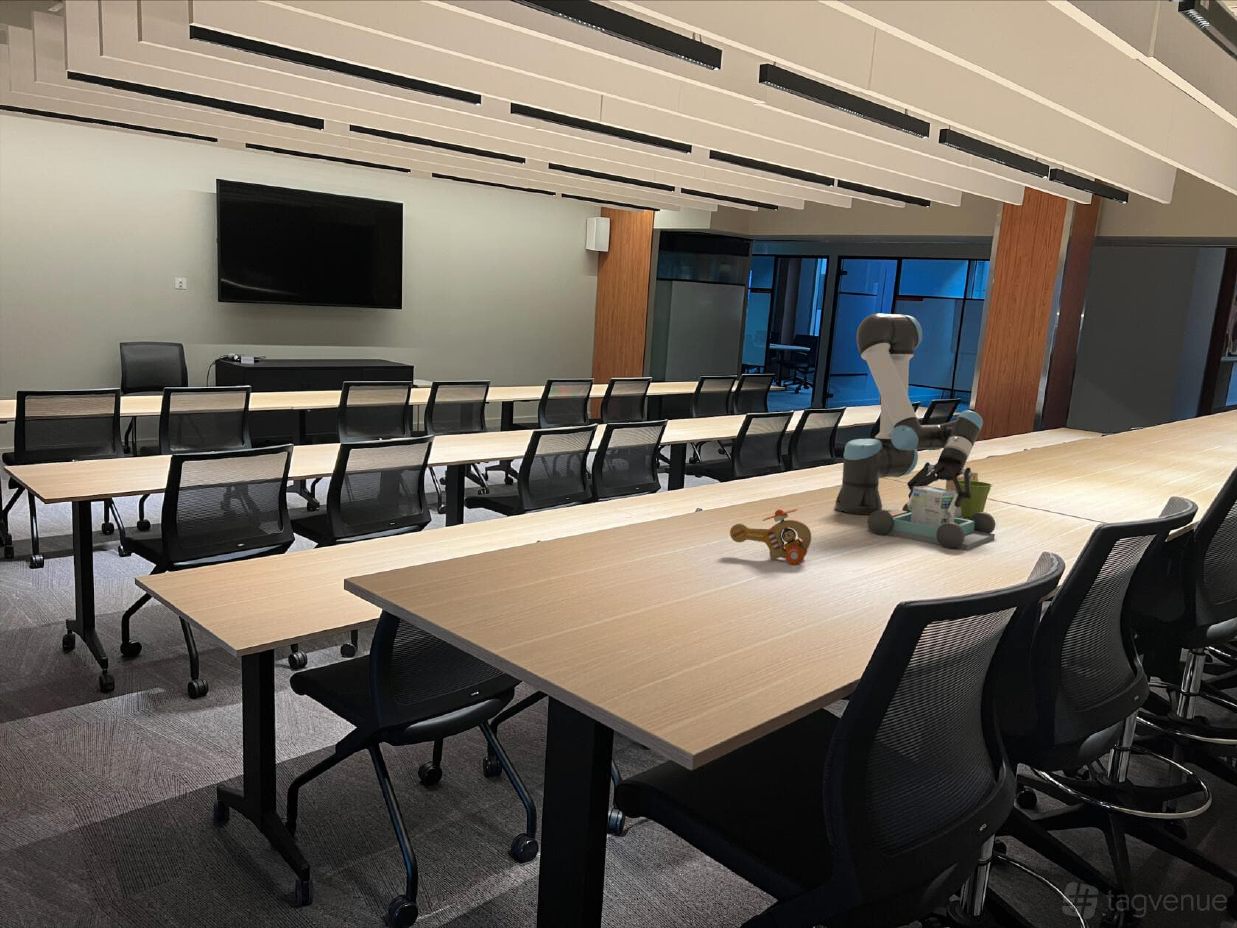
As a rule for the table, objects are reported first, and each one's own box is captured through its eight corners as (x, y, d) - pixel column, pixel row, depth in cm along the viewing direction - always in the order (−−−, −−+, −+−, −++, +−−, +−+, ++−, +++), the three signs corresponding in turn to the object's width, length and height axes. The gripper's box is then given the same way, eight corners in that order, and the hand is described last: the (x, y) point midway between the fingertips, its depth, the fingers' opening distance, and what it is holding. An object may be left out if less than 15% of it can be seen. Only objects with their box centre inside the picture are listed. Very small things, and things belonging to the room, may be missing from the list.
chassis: (863, 531, 270) (865, 508, 269) (901, 520, 288) (903, 498, 287) (963, 551, 250) (965, 526, 249) (997, 537, 268) (999, 514, 267)
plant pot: (996, 518, 296) (1000, 484, 295) (974, 522, 290) (978, 487, 288) (965, 511, 306) (968, 478, 304) (943, 514, 299) (946, 481, 298)
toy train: (978, 499, 331) (980, 471, 330) (958, 504, 319) (961, 476, 317) (963, 496, 335) (965, 469, 333) (943, 501, 323) (945, 474, 321)
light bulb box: (954, 526, 266) (957, 490, 264) (939, 529, 262) (942, 492, 260) (924, 519, 274) (927, 484, 273) (909, 521, 271) (912, 486, 269)
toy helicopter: (807, 566, 228) (811, 513, 226) (725, 557, 234) (728, 505, 232) (811, 559, 235) (815, 507, 233) (732, 550, 242) (735, 499, 240)
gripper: (914, 442, 280) (887, 497, 271) (992, 450, 264) (966, 509, 255) (920, 457, 285) (894, 512, 276) (997, 467, 269) (972, 525, 260)
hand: (929, 510), depth 266 cm, fingers closed on light bulb box, 12 cm apart
